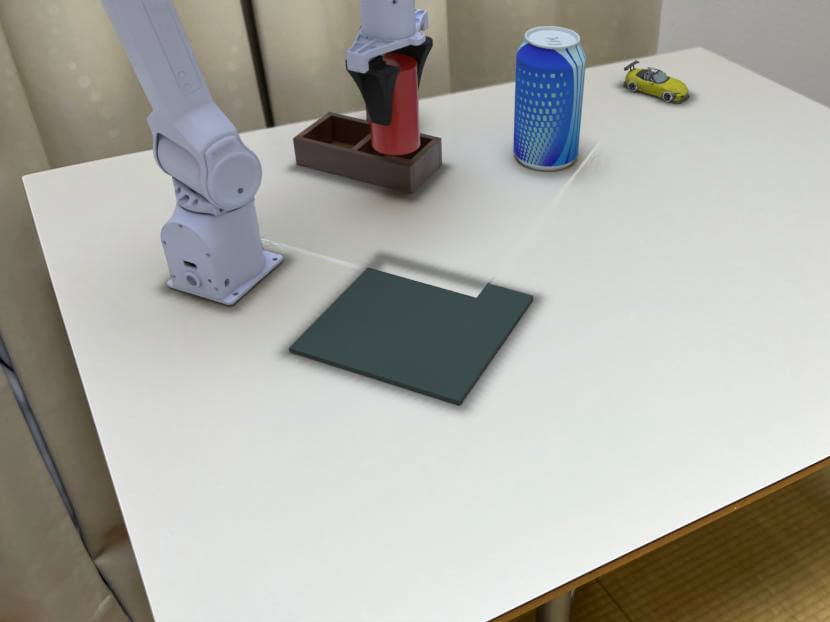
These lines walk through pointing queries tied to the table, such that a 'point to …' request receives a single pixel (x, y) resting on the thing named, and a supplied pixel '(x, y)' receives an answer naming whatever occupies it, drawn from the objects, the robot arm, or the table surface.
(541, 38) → the beer can
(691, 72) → the table surface
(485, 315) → the mat
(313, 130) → the holder
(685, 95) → the toy car
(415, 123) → the can
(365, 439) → the table surface
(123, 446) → the table surface
